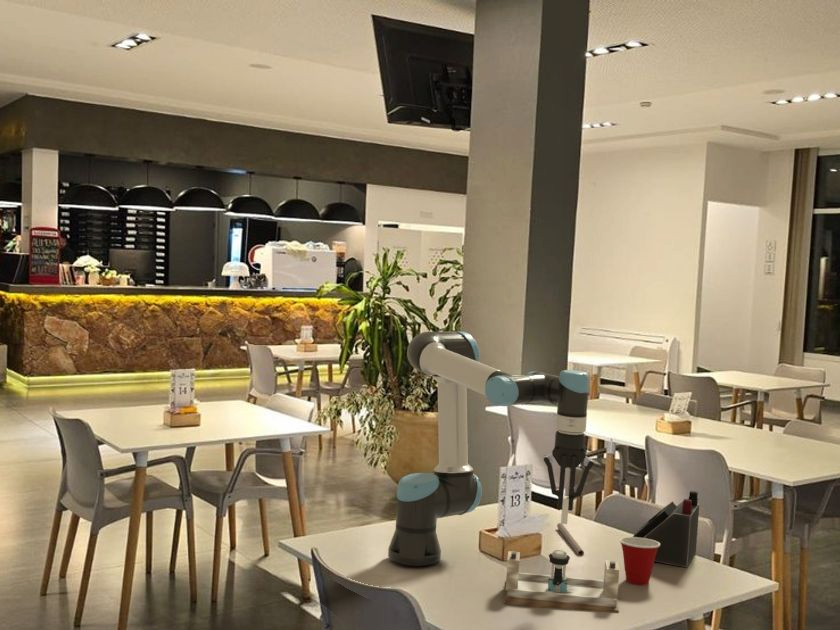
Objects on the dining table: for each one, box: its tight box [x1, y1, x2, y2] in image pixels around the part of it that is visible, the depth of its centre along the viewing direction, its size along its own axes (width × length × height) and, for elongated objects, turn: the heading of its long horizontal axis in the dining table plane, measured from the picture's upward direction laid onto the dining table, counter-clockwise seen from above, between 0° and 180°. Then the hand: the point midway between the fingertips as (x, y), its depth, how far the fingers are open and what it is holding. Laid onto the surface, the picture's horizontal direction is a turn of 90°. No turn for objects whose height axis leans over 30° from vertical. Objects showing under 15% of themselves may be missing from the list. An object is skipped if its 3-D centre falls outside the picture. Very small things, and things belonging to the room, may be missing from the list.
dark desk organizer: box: [632, 490, 700, 568], centre depth 266 cm, size 16×16×20 cm
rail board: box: [504, 550, 620, 613], centre depth 231 cm, size 28×17×11 cm, turn 82°
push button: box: [548, 549, 573, 592], centre depth 231 cm, size 7×5×10 cm
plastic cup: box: [619, 536, 660, 586], centre depth 244 cm, size 11×11×12 cm
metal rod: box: [556, 522, 585, 556], centre depth 279 cm, size 2×27×2 cm, turn 4°
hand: (564, 522), depth 230 cm, fingers closed
